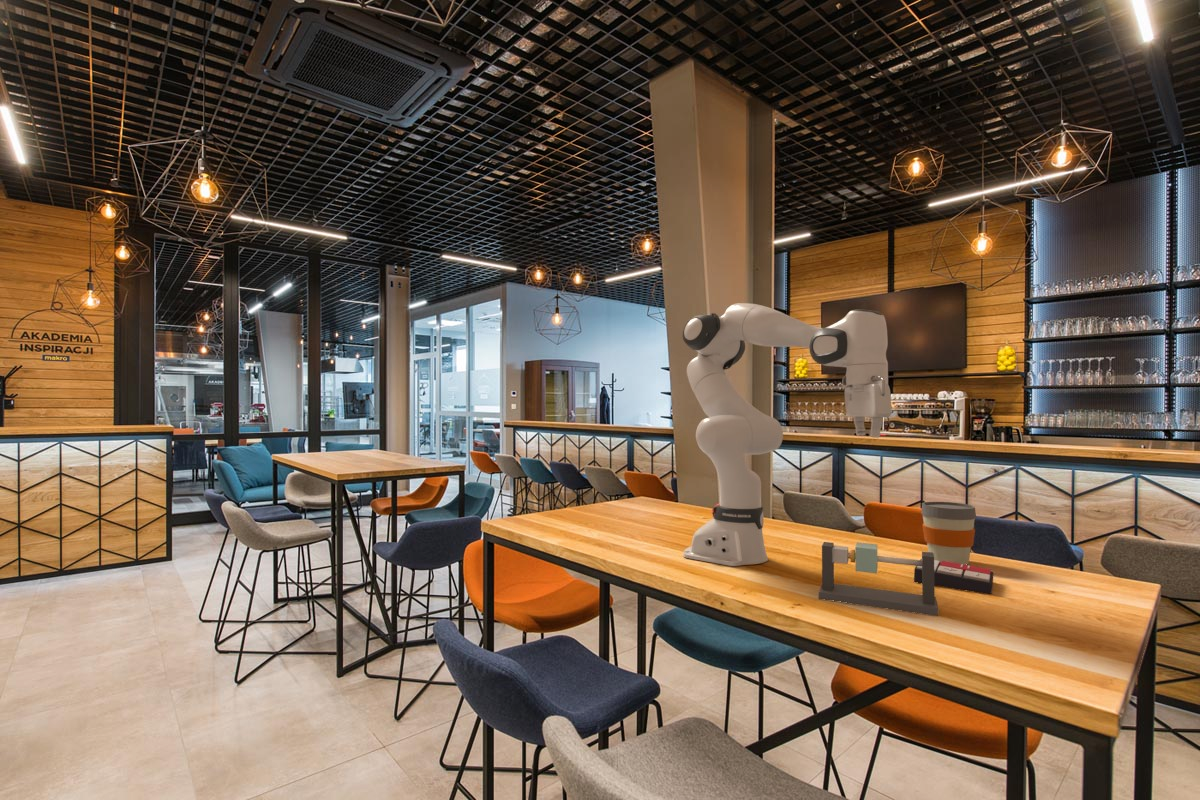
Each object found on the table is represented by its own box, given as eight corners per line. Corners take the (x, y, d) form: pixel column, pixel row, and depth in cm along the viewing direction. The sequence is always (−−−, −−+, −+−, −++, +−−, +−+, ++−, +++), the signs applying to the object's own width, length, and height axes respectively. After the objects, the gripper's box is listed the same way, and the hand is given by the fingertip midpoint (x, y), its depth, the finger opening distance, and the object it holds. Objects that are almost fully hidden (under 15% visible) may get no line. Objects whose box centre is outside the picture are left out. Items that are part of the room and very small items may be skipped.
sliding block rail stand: (818, 599, 122) (818, 547, 122) (823, 588, 129) (822, 539, 129) (938, 616, 112) (937, 559, 112) (935, 603, 119) (935, 550, 119)
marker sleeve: (855, 571, 120) (855, 547, 120) (857, 565, 124) (856, 542, 125) (876, 573, 118) (876, 549, 118) (877, 567, 123) (877, 544, 123)
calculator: (992, 579, 125) (914, 565, 134) (991, 599, 125) (913, 583, 134) (993, 568, 134) (920, 555, 143) (992, 586, 134) (919, 572, 143)
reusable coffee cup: (975, 559, 154) (974, 503, 154) (978, 570, 143) (977, 510, 144) (922, 553, 161) (921, 500, 161) (921, 563, 150) (920, 506, 150)
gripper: (899, 374, 124) (899, 438, 124) (866, 379, 144) (866, 434, 144) (868, 375, 125) (869, 438, 124) (840, 380, 145) (840, 434, 145)
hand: (867, 436), depth 134 cm, fingers open, 8 cm apart
